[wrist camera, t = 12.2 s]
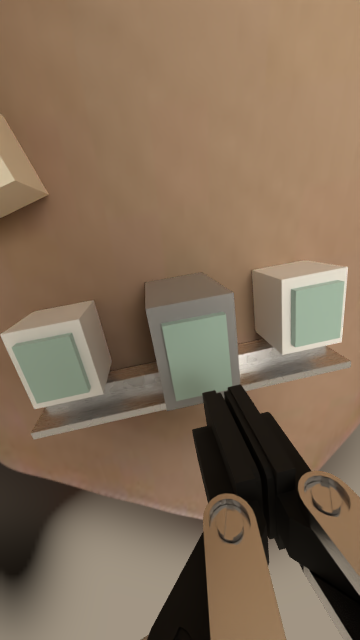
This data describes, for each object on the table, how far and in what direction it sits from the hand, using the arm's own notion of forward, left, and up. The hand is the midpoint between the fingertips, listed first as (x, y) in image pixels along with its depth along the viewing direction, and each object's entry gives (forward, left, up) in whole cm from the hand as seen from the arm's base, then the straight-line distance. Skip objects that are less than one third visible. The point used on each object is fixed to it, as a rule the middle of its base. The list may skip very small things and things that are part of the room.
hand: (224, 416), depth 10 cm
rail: (+5, 0, -13) cm, 14 cm away
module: (0, 0, -13) cm, 13 cm away
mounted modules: (0, 0, -13) cm, 13 cm away
